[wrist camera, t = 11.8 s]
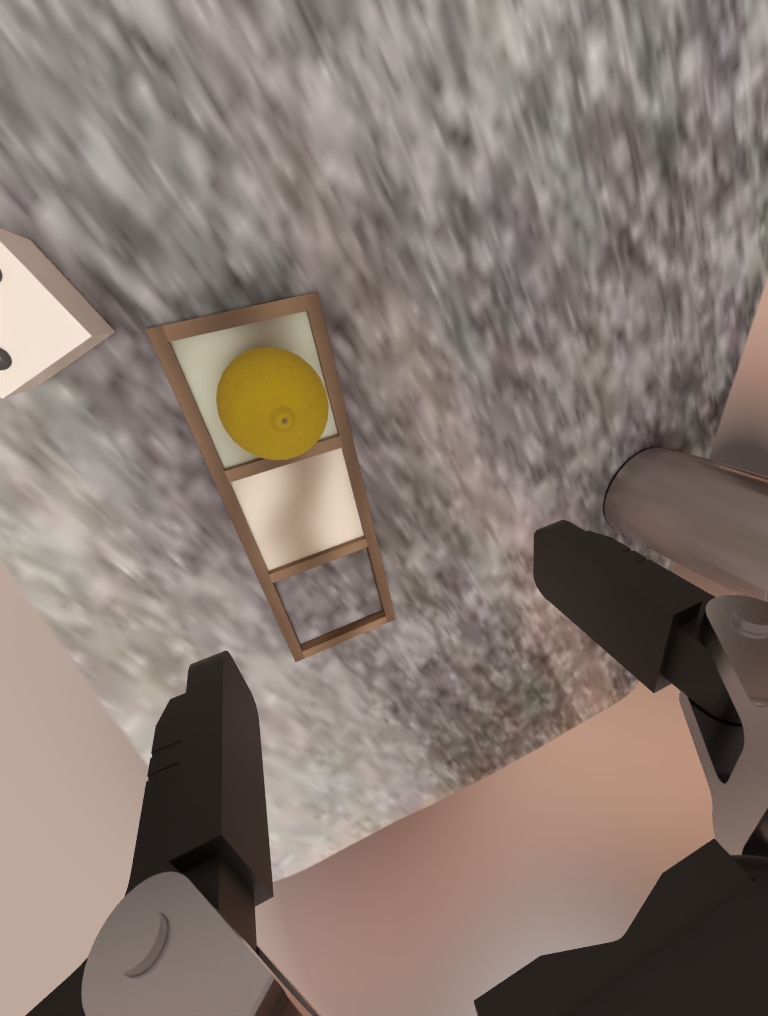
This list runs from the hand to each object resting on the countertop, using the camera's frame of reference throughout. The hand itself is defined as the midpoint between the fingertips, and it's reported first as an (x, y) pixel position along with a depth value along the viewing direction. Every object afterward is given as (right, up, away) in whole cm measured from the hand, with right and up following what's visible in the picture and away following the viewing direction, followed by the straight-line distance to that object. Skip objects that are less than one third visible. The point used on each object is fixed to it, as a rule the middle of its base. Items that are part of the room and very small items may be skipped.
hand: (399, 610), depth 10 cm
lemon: (-8, +10, +14) cm, 19 cm away
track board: (-6, +3, +18) cm, 20 cm away
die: (-17, +12, +9) cm, 23 cm away
